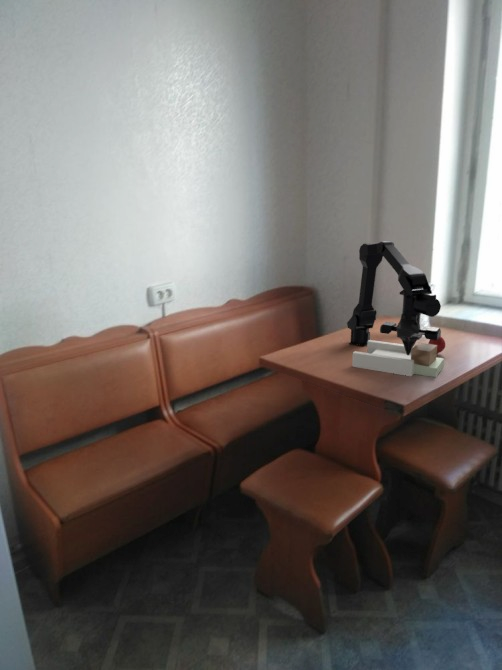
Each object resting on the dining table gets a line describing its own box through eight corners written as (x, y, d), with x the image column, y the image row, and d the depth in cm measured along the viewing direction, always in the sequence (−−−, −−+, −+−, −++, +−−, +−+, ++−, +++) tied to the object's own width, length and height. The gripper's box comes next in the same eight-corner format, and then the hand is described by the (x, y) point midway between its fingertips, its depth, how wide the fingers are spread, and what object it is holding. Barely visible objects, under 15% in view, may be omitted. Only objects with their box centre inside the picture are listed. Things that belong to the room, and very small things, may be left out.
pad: (413, 373, 163) (414, 364, 163) (421, 363, 172) (422, 355, 172) (435, 377, 160) (436, 368, 159) (443, 366, 169) (443, 358, 168)
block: (410, 363, 164) (411, 348, 163) (418, 356, 171) (419, 342, 169) (429, 366, 161) (430, 351, 160) (436, 359, 167) (437, 345, 166)
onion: (445, 357, 178) (447, 335, 176) (428, 356, 179) (430, 335, 177) (443, 352, 184) (444, 331, 182) (426, 351, 185) (428, 330, 183)
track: (352, 366, 171) (352, 352, 170) (368, 352, 185) (369, 339, 184) (411, 376, 161) (412, 361, 160) (424, 361, 175) (425, 347, 173)
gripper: (375, 312, 162) (373, 357, 167) (435, 318, 153) (431, 366, 157) (386, 305, 171) (383, 348, 176) (443, 311, 162) (439, 356, 166)
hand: (408, 355), depth 168 cm, fingers closed
